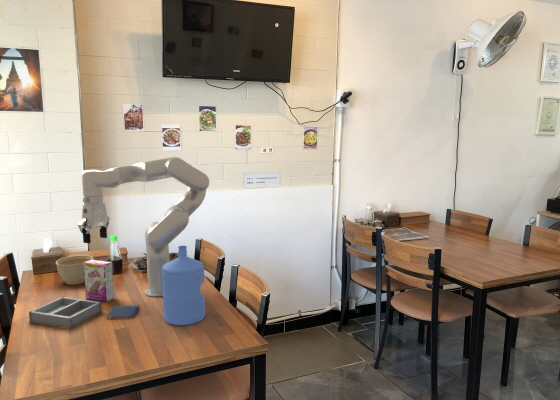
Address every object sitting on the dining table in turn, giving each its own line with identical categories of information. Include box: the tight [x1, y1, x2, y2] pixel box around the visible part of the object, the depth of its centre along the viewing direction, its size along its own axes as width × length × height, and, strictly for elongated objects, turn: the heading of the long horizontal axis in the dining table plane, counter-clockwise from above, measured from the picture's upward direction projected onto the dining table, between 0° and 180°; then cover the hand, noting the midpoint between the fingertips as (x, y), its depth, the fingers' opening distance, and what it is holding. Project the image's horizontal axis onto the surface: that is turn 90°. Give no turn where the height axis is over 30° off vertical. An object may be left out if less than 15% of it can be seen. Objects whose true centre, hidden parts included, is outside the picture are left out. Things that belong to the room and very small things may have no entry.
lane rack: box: [28, 296, 102, 330], centre depth 164 cm, size 19×16×4 cm
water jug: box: [162, 245, 206, 327], centre depth 161 cm, size 16×16×28 cm
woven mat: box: [105, 304, 140, 321], centre depth 167 cm, size 10×11×2 cm
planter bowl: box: [55, 254, 94, 285], centre depth 204 cm, size 16×16×11 cm
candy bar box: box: [84, 259, 115, 303], centre depth 181 cm, size 11×5×16 cm, turn 71°
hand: (95, 240), depth 178 cm, fingers open, 9 cm apart
